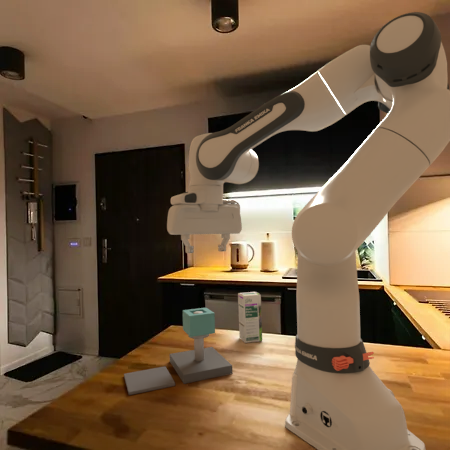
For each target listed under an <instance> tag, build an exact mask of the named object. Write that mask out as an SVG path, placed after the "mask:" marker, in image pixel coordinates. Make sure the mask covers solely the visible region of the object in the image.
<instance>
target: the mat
mask: <svg viewBox="0 0 450 450" xmlns="http://www.w3.org/2000/svg"><path fill="white" fill-rule="evenodd" d="M123 376H124V381H125V384H126V388H127V394H128V396H131V395H132V396H133V395H137V394H141V393H146V392H151V391H156V390H160V389H166V388H170V387H175V386H176V382H175V380H174V379H173V377H172V375H171V373H170V372H169V369H167V366H165V365H164V366H159V367H154V368H148V369H143V370H137V371H132V372H127V373H123Z"/></svg>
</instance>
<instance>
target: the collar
mask: <svg viewBox="0 0 450 450" xmlns="http://www.w3.org/2000/svg"><path fill="white" fill-rule="evenodd" d="M196 311H202V312H203V313H198V314H194V312H196ZM215 321H216V318H215V312H214V311H212V310H211V309H209V308H208V307H201V308H200V307H198V308H191V309H182V330H183V331H184V333H185V334H187V336H188V335H189V336H190V337H193V336H200V335H207V334H209V335H212V334H216V322H215ZM189 336H188V337H189ZM190 337H189V338H190Z"/></svg>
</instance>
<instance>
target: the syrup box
mask: <svg viewBox="0 0 450 450" xmlns="http://www.w3.org/2000/svg"><path fill="white" fill-rule="evenodd" d="M237 303H238V305H237V306H238V329H239V330H238V331H239V339H240V340H241V341H243V342H244V344H248V343H257V342H262V341H263V325H262V324H263V322H262V319H263V318H262V296H261V294H260V293H259V292H257V291H250V292H249V291H248V292H238V293H237Z"/></svg>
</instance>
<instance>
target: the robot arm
mask: <svg viewBox="0 0 450 450" xmlns="http://www.w3.org/2000/svg"><path fill="white" fill-rule="evenodd" d="M448 76H449V75H448V61H447V56H446V51H445V48H444V45H443V42H442V34H441V31H440V29H439V27H438V25H437V23H436V22H435V20H434V19H433V18H432V17H431V16H430V15H429V14H427V13H424V12H420V11H419V12H418V11H414V12H407V13H404V14H401V15H398V16H397V17H393V18H392V19H391V20H389V21H388V22H386V23H385V24H384V25H382V27H381V28H380V29H378V31H377V32H376V33H375V35H374V36H373V38H372V41H371V42H370V45H369V44H360V45H357V46H355V47H352V48H351V49H349V50H347V51H345V52H344V53H342V54H340V55H338V56H336V57H335V58H334V59H332V60H331V61H329V62H327V63H326V64H325V65H324V66H322V67H321V68H319V69H318V70H317V71H316V72H314V73H313V74H311V75H310V76H309V77H308V78H306V79H305V80H303V81H302V82H300V83H299V84H298V85H296V86H295V87H293V88H291V89H289V90H288V91H285V92H283V93H281V94H279V95H277V96H275V97H274V98H271V99H270V100H268V101H266V103H264V104H262V105H261V106H259V107H258V108H256V109H254V110H253V111H251V113H249V114H247V115H245V116H244V117H243V118H241V119H240V120H238V121H237V122H236V123H233V125H231V126H229V127H227V128H225V129H222V130H220V131H215V132H205V133H204V132H203V133H200V134H198V135H196V136H195V137H194V138H192V140H191V142H190V146H189V152H188V173H189V175H190V176H189V177H190V178H189V184H188V191H184V192H182V193H180V194H177V195H174V196H171V198H170V204H171V205H172V206H170V208H169V209H168V212H167V221H166V230H167V232H168V234H169V235H174V236H175V235H176V236H177V235H180V240H181V241H182V243H183V245H184V246H185V247H184V248H185V249H184V250H185V253H186V254H193V253H194V251H195V250H194V248H195V247H194V245H191V244H190V243H191V242H190V241H189V240H190V239H191V237H190V235H221V239H222V241H221V243H220V244H217V250H218V252H226V251H227V245H228V243H229V240H230V239H231V235H233V234H234V235H236V234H237V235H239V234H240V233H241V232H242V230H243V229H242V228H243V226H242V216H241V205H240V203H239V202H237V201H236V199H226V198H225V199H224V184H225V183H230V184H234V185H243V184H247V183H250V182H251V181H252V180H254V178H255V177H256V176H257V174H258V171H259V168H260V167H259V166H260V161H259V157H258V155H257V153H256V152H255V151H254V150H253V149H254V148H256V147H257V146H259V145H261V144H262V143H263V142H265V141H267V140H268V139H270V138H271V137H273V136H275V135H277V134H279V133H282V132H287V131H306V132H318V131H321V130H323V129H326V128H327V127H329V126H332V125H333V124H335V123H337V122H338V121H340V120H342V118H344V117H345V116H347V115H348V114H350V113H351V112H352V111H354V110H355V109H356V108H358V107H359V106H361V105H363V104H364V103H367V102H371V101H372V102H373V101H374V102H377V108H378V110H380V111H382V112H383V113H385V114H386V116H385V117H384V118H383V119H382V121H380V122H379V124H378V125H377V126H376V127H375V128H374V129H373V130H372V132H371V133H370V134H369V135H368V136H367V138H366V139H364V141H363V142H362V143H361V145H359V147H358V148H357V149H356V150H355V151H354V153H353V154H352V155H351V156H350V157H349V158H348V160H347V161H346V162H345V163H344V164H343V165H342V166H341V167H340V168H339V169H338V170H337V172H335V173H334V174H333V176H332V177H330V178H329V179H328V181H327V182H326V183H325V184H324V185H323V186H322V187H321V188H320V189H318V191H317V192H316V194H314V195H313V197H312V198H311V199H310V200H309V201H308V202H307V203H306V204H305V205H304V206H303V208H301V210H300V211H299V212H298V213H297V215H296V216H295V217H294V220H293V222H292V227H291V239H292V243H293V245H294V248H295V249H296V251H297V267H296V269H297V270H296V271H297V273H296V275H297V276H296V277H297V278H296V294H295V295H296V322H297V323H296V326H297V328H296V329H297V334H296V335H295V341H294V349H295V352H294V355H295V357H296V358H297V361H296V365H295V368H294V372H293V374H292V377H291V388H290V389H291V390H290V403H289V405H290V409H289V413H288V415H287V416H286V417H285V422H284V423H285V425H284V426H285V428H286V429H287V430H289V431H290V432H291V433H293V434H294V435H296V436H297V437H299V438H300V439H301V440H303V441H305V443H308V444H309V445H311V446H312V447H313V448H314V449H317V450H426V444H425V443H424V441H422V440H421V439H420V438H419V437H418V436H416V435H415V434H414V433H413V432H411V431H410V430H409V429H408V424H407V419H406V415H405V411H404V409H403V406H402V404H401V402H399V400H398V399H397V398H396V396H395V394H394V392H393V391H392V390H391V389H390V388H388V387H387V386H386V385H385V384H384V382H383V380H381V379H380V377H379V376H378V374H376V373H375V371H374V370H373V369H372V368H371V366H370V364H371V363H370V360H372V359H374V358H375V357H374V356H372V355H373V354H374V353H375V352H374V351H370V352H367V349H366V347H365V344H364V340H363V339H362V338H361V315H360V314H361V313H360V312H361V311H360V310H361V309H360V306H361V305H360V292H359V291H360V290H359V282H358V281H359V280H358V270H357V267H358V266H357V256H356V255H357V253H356V252H357V250H358V248H360V247H361V246H362V244H363V243H364V242H365V241H366V240H367V239H368V237H369V236H370V235H371V233H373V231H374V230H375V229H376V228H377V227H378V225H379V224H380V223H381V222H382V221H383V219H384V218H385V217H386V216H387V214H388V213H389V212H390V210H391V209H392V208H393V207H394V205H396V203H397V202H398V201H399V200H400V199H401V198H402V197H403V196H404V195H405V193H406V192H407V191H408V190H409V189H410V188H411V187H412V186H413V185H414V183H416V181H417V180H418V179H419V178H420V177H421V176H422V175H423V174H424V173H425V172H426V171H427V169H429V167H430V166H431V165H432V164H433V163H434V162H435V160H436V159H437V158H438V157H439V156H440V155H441V154H442V152H443V151H444V149H446V147H447V146H448V144H449V143H450V86H449V85H450V84H449V82H448V81H449V80H448Z"/></svg>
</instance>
